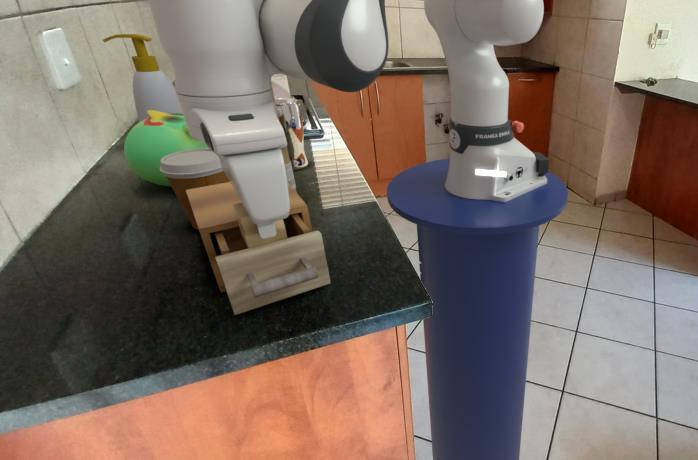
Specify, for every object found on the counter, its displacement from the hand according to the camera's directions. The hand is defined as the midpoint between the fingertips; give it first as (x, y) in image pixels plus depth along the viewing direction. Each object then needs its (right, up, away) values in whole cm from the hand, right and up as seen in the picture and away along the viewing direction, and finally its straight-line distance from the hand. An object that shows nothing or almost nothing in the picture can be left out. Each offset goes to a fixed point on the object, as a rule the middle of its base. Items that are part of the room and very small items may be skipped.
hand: (262, 226), depth 54 cm
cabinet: (-7, -4, +12) cm, 15 cm away
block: (0, -1, +1) cm, 2 cm away
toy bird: (-36, +10, +36) cm, 52 cm away
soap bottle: (-53, +19, +53) cm, 77 cm away
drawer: (-1, -8, +5) cm, 9 cm away
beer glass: (-20, +14, +46) cm, 53 cm away
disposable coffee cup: (-21, +1, +21) cm, 29 cm away
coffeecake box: (-35, +23, +61) cm, 74 cm away
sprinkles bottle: (-12, +4, +28) cm, 31 cm away
